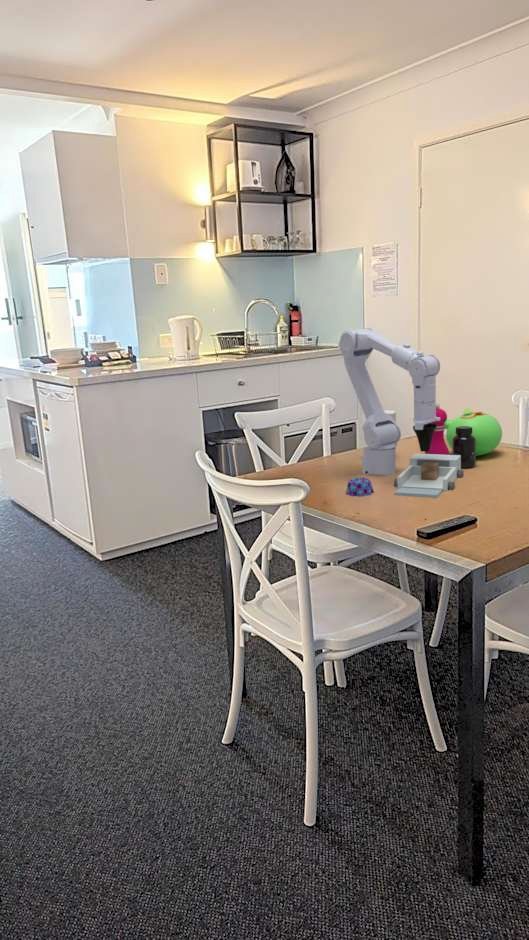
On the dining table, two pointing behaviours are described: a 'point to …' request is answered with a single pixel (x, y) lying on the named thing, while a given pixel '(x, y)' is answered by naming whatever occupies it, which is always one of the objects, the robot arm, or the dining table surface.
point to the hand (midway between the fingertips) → (425, 451)
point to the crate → (429, 471)
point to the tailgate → (418, 492)
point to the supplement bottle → (464, 446)
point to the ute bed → (445, 481)
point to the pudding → (359, 487)
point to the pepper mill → (439, 434)
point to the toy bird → (477, 430)
